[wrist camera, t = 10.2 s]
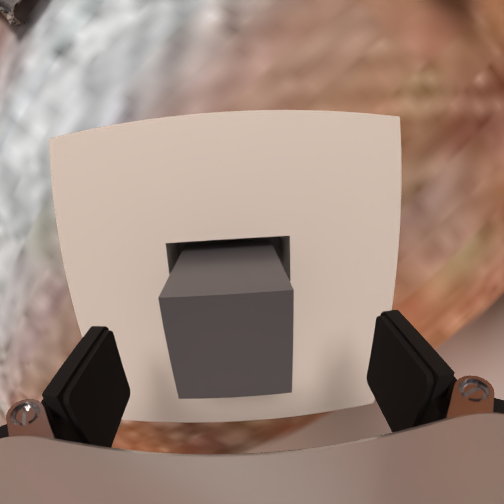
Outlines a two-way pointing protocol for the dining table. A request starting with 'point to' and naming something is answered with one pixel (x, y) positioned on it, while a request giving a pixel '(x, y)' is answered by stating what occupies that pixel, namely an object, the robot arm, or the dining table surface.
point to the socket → (235, 240)
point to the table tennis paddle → (9, 10)
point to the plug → (229, 321)
